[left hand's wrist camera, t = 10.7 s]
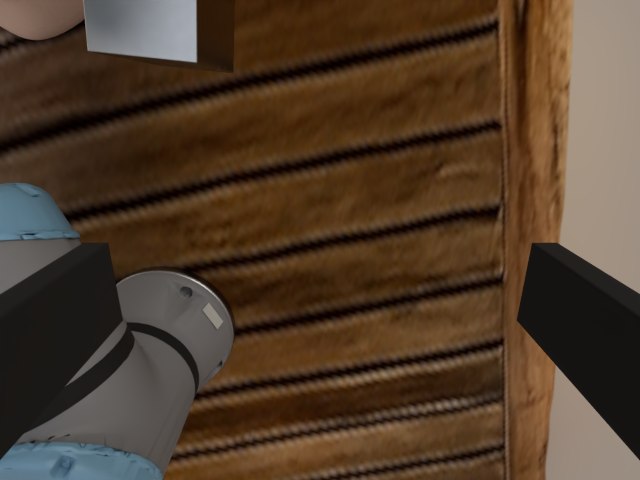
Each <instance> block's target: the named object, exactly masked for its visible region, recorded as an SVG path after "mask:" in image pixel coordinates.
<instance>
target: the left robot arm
mask: <svg viewBox="0 0 640 480" xmlns="http://www.w3.org/2000/svg"><path fill="white" fill-rule="evenodd" d="M79 238H80V234H79V233H78V232H77V231H74V230H73V228H72V227H71V225H70V224H69V222H68V221H67V219H66V218H65V216H64V215H63V213H62V212H61V210H60V209H59V207H58V205H57V204H56V202H55V201H54V199H53V198H52V197H51V196H50V194H48V193H47V192H46V191H45V190H43V189H42V188H40V187H37V186H35V185H31V184H27V183H4V184H0V480H163V477H164V474H165V471H166V469H167V466H168V464H169V461H170V459H171V456H172V454H173V451H174V449H175V446H176V443H177V441H178V438H179V436H180V433H181V431H182V428H183V426H184V423H185V421H186V418H187V416H188V413H189V410H190V408H191V405H192V403H193V400H194V398H195V395H196V393H197V392H198V391H199V390H200V389H202V388H203V387H204V386H205V385H206V384H207V383H208V382H209V381H210V379H211V378H213V377H214V376H215V375H216V374H217V373H218V372H219V371H220V369H221V368H222V367H223V365H224V364H225V362H226V361H227V359H228V357H229V355H230V352H231V349H232V346H233V344H234V339H235V321H234V317H233V314H232V311H231V309H230V306H229V305H228V303H227V301H226V300H225V298H224V297H223V295H222V294H221V293H220V292H219V291H218V290H217V289H216V288H215V287H214V286H213V285H211V284H210V283H209V282H208V281H206V280H205V279H203V278H201V277H199V276H198V275H196V274H193V273H191V272H188V271H185V270H182V269H178V268H172V267H150V268H145V269H142V270H138V271H136V272H134V273H131V274H130V275H128V276H126V277H125V278H123V279H122V280H121V281H120V282H119V283H118V284H116V282H115V276H114V271H113V266H112V261H111V256H110V251H109V246H108V243H82V244H81V242H80V240H79ZM517 321H518V322H519V323H520V325H521V326H522V327H523V328H524V329H525V330H526V331H527V332H528V334H529V335H530V336H531V337H532V338H533V339H534V340H535V342H536V343H537V344H538V345H539V346H540V347H541V348H542V350H543V351H544V352H545V353H546V354H547V355H548V356H549V358H550V359H551V360H552V361H553V362H554V363H555V364H556V365H557V367H558V368H559V369H560V370H561V371H562V372H563V373H564V375H565V376H566V377H567V378H568V379H569V380H570V381H571V383H572V384H573V385H574V386H575V387H576V388H577V389H578V390H579V392H580V393H581V394H582V395H583V396H584V397H585V399H586V400H587V401H588V402H589V403H590V404H591V405H592V406H593V408H594V409H595V410H596V411H597V412H598V413H599V414H600V416H601V417H602V418H603V419H604V420H605V421H606V422H607V424H608V425H609V426H610V427H611V428H612V429H613V430H614V432H615V433H616V434H617V435H618V436H619V437H620V438H621V439H622V441H623V442H624V443H625V444H626V445H627V446H628V447H629V449H630V450H631V451H632V452H633V453H634V454H635V455H636V456H637V458H638V459H639V460H640V294H639V293H637V292H636V291H634V290H632V289H631V288H629V287H627V286H626V285H624V284H623V283H621V282H619V281H618V280H616V279H614V278H613V277H611V276H610V275H608V274H606V273H605V272H603V271H602V270H600V269H598V268H597V267H595V266H593V265H592V264H590V263H589V262H587V261H585V260H584V259H582V258H581V257H579V256H577V255H576V254H574V253H572V252H571V251H569V250H568V249H566V248H564V247H563V246H561V245H560V244H558V243H532V246H531V251H530V256H529V261H528V266H527V271H526V276H525V282H524V287H523V292H522V297H521V302H520V307H519V312H518V317H517Z"/></svg>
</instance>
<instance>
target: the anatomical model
mask: <svg viewBox="0 0 640 480" xmlns="http://www.w3.org/2000/svg"><path fill="white" fill-rule="evenodd" d="M84 19H85V15H84V5H83V0H0V26H1V27H3V28H4V29H6V30H8V31H9V32H11V33H13V34H15V35H17V36H20V37H22V38H26V39H31V40H43V39H48V38H52V37H55V36H58V35H60V34H62V33H64V32H66V31H68V30H69V29H71V28H73V27H74V26H76V25H77V24H79V23H80V22H82V21H83V20H84Z"/></svg>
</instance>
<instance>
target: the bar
mask: <svg viewBox="0 0 640 480" xmlns="http://www.w3.org/2000/svg"><path fill="white" fill-rule="evenodd" d="M83 5H84V15H85V26H86V37H87V47H88V51H89V52H94V53H99V54H104V55H109V56H114V57H119V58H124V59H130V60H135V61H140V62H145V63H150V64H155V65H162V66H171V67H181V68H190V69H199V70H208V71H217V72H227V73H233V59H234V14H235V0H83Z"/></svg>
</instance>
